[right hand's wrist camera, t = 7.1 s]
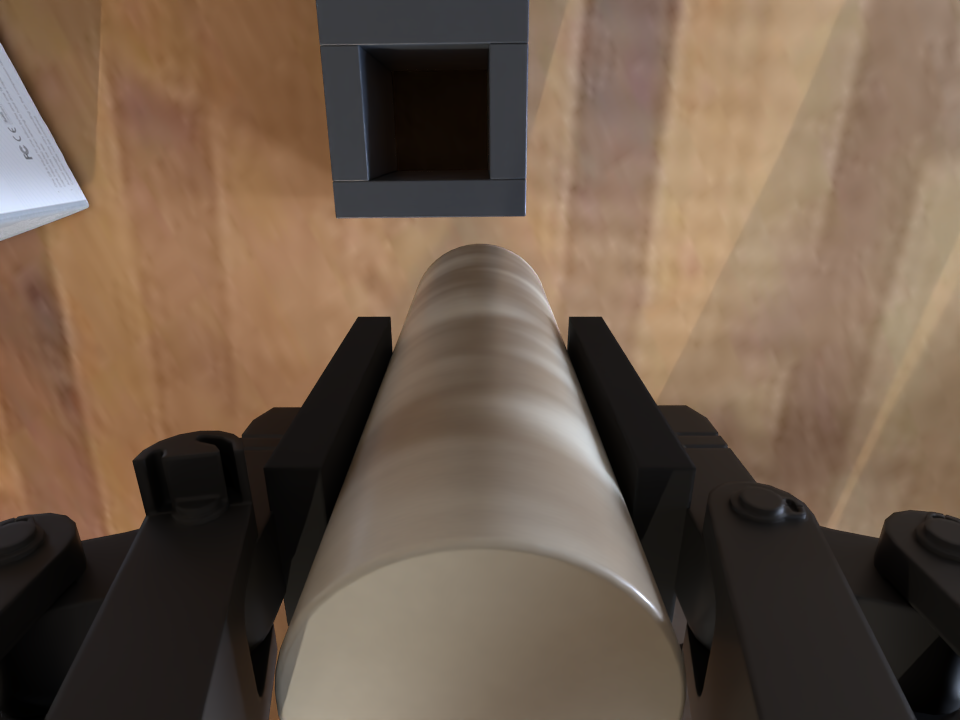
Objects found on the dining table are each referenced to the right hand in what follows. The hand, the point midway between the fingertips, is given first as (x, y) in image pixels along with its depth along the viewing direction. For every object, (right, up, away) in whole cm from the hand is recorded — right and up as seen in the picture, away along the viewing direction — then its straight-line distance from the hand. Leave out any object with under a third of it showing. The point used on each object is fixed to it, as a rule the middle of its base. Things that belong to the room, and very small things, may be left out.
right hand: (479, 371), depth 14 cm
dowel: (0, +2, +5) cm, 5 cm away
